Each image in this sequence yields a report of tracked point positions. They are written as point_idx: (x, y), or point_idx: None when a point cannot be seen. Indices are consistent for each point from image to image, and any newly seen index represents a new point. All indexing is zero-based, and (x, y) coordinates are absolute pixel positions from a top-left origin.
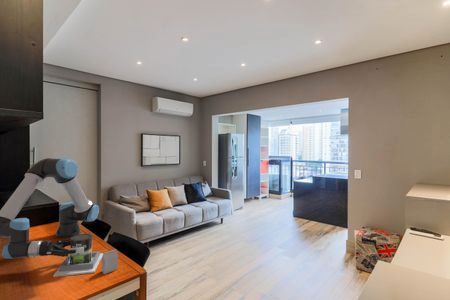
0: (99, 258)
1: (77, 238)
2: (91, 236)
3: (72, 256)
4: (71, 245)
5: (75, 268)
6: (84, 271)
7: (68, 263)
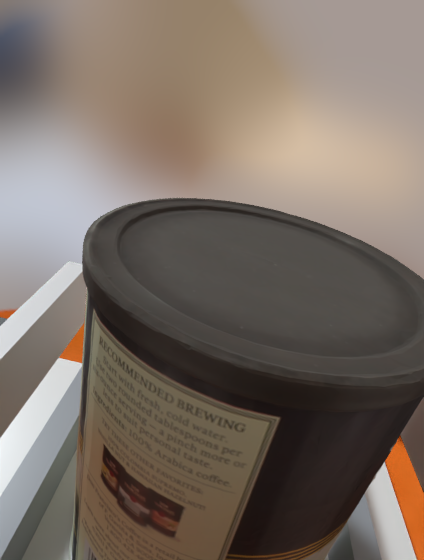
0: None
1: (323, 299)
2: (261, 210)
3: (325, 557)
4: (373, 464)
5: None
6: (382, 494)
7: None
